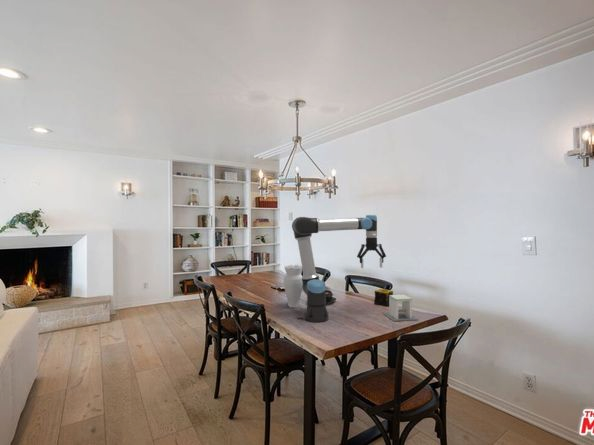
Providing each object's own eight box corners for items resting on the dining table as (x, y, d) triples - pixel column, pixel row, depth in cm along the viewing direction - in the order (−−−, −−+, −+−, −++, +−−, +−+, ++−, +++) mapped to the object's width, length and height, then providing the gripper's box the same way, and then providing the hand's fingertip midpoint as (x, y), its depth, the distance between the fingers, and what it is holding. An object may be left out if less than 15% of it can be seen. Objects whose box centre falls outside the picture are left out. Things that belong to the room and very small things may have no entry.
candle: (374, 304, 219) (373, 290, 219) (380, 301, 226) (380, 288, 226) (387, 307, 212) (387, 293, 212) (393, 304, 219) (393, 290, 219)
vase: (279, 306, 216) (279, 266, 216) (294, 302, 226) (294, 263, 226) (292, 310, 205) (292, 268, 205) (308, 306, 215) (307, 266, 215)
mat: (393, 321, 181) (393, 320, 181) (382, 313, 197) (382, 312, 197) (418, 320, 183) (418, 319, 183) (405, 312, 199) (405, 311, 199)
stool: (411, 318, 185) (403, 313, 195) (411, 298, 185) (403, 294, 195) (396, 319, 184) (389, 314, 194) (396, 299, 184) (389, 295, 193)
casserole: (319, 308, 209) (319, 296, 209) (301, 303, 223) (301, 292, 223) (342, 302, 226) (342, 291, 226) (324, 297, 240) (324, 287, 240)
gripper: (355, 237, 202) (356, 268, 202) (390, 237, 205) (391, 267, 205) (352, 237, 209) (352, 267, 209) (386, 236, 213) (386, 266, 213)
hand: (371, 267), depth 207 cm, fingers open, 13 cm apart
